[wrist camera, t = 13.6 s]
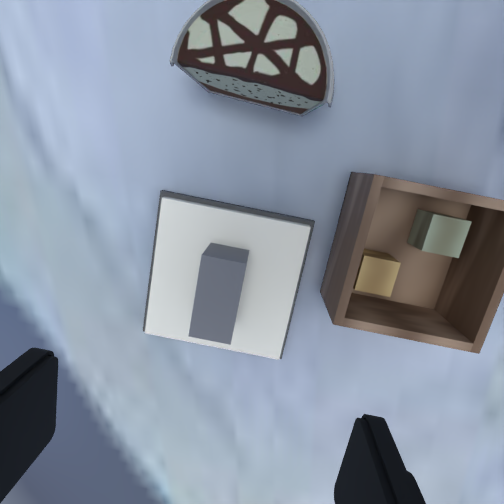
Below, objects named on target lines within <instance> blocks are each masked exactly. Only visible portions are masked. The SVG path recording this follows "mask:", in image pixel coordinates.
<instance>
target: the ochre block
mask: <svg viewBox="0 0 504 504" xmlns="http://www.w3.org/2000/svg"><path fill="white" fill-rule="evenodd" d="M400 264H401V263H400V262H399V261H398V260H396V259H395V258H394V257H393V256H391V255H390V254H388V253H383V252H378V251H373V250H368V249H364V251H363V254H362V258H361V261H360V265H359V268H358V272H357V275H356V279H355V282H354V286H353V288H354V290H358V291H362V292H367V293H372V294H377V295H382V296H387V297H390V296H391V293H392V290H393V286H394V283H395V280H396V277H397V274H398V271H399V267H400Z"/></svg>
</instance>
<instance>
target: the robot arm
mask: <svg viewBox="0 0 504 504" xmlns="http://www.w3.org/2000/svg"><path fill="white" fill-rule="evenodd" d="M57 377H58V358H57V357H54V353H53V352H52V351H49V350H44V349H39V348H31V349H29V350H28V351H27V352H25V353H24V354H23V355H21V356H20V357H19V358H17V359H16V360H15V361H14V362H12V363H11V364H10V365H8V366H7V367H6V368H4V369H3V370H2V371H0V503H1V502H2V500H3V499H4V498H5V496H6V495H7V494H8V493H9V492H10V490H11V489H12V488H13V487H14V485H15V484H16V483H17V482H18V480H19V479H20V478H21V477H22V475H23V474H24V473H25V472H26V470H27V469H28V468H29V467H30V465H31V464H32V463H33V462H34V460H35V459H36V458H37V457H38V455H39V454H40V453H41V452H42V450H43V449H44V448H45V447H46V445H47V444H48V443H49V442H50V440H51V439H52V437H53V434H54V432H55V426H56V400H57ZM334 500H335V504H426V503H425V501H424V498H423V496H422V494H421V491H420V489H419V487H418V485H417V482H416V480H415V478H414V477H413V475H412V474H411V473H410V472H408V471H407V470H406V468H405V466H404V463H403V461H402V459H401V456H400V454H399V452H398V449H397V447H396V444H395V442H394V440H393V437H392V435H391V433H390V430H389V428H388V426H387V423H386V421H385V419H384V418H382V417H377V416H372V415H367V414H364V415H363V416H362V418H357V419H356V420H355V423H354V426H353V430H352V433H351V436H350V439H349V442H348V445H347V449H346V452H345V455H344V458H343V461H342V464H341V467H340V471H339V474H338V477H337V480H336V483H335V488H334Z"/></svg>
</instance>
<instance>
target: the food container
mask: <svg viewBox="0 0 504 504" xmlns="http://www.w3.org/2000/svg"><path fill="white" fill-rule="evenodd" d="M170 64H171V66H173V65H174V64H176V65H177V66H178V67H179V68H180V69H181V70H183V71H184V72H185V73H186V74H187V75H189V76H190V77H191V78H192V79H193V80H195V81H196V82H197V83H198V84H199V85H201V86H202V87H203V88H204V89H205V90H207V91H208V92H210V93H214V94H218V95H222V96H225V97H229V98H233V99H237V100H241V101H245V102H249V103H252V104H256V105H260V106H264V107H268V108H272V109H276V110H279V111H283V112H287V113H291V114H295V115H299V116H303V115H305V114H307V113H309V112H311V111H312V110H314V109H316V108H318V107H320V106H321V105H323V104H325V103H328V105H329V107H331V104H332V99H333V94H334V70H333V61H332V56H331V52H330V48H329V45H328V43H327V40H326V38H325V35H324V33H323V31H322V30H321V28H320V26H319V25H318V23H317V21H316V20H315V19H314V18H313V17H312V16H311V14H310V13H309V12H308V11H307V10H306V9H305V8H304V7H302V6H301V5H300V4H299V3H298V2H297V1H295V0H209V1H207V2H206V3H204V4H203V5H202V6H201V7H200V8H199V9H197V10H196V11H195V12H194V13H193V15H192V16H191V17H190V18H189V19H188V20H187V22H186V23H185V25H184V26H183V28H182V30H181V31H180V33H179V35H178V37H177V39H176V42H175V44H174V47H173V50H172V54H171V58H170Z"/></svg>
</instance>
